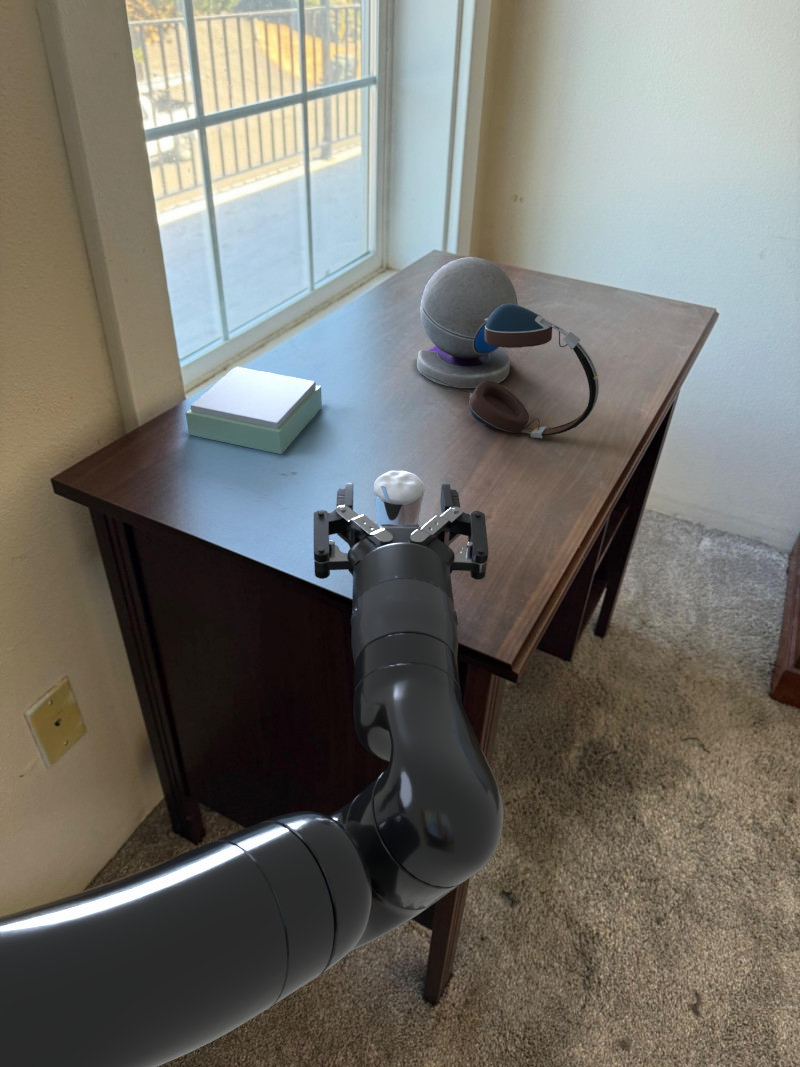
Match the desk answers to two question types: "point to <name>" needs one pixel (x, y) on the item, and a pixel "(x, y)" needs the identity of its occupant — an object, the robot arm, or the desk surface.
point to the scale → (255, 409)
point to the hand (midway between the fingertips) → (397, 491)
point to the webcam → (464, 323)
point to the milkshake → (398, 498)
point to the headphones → (499, 403)
